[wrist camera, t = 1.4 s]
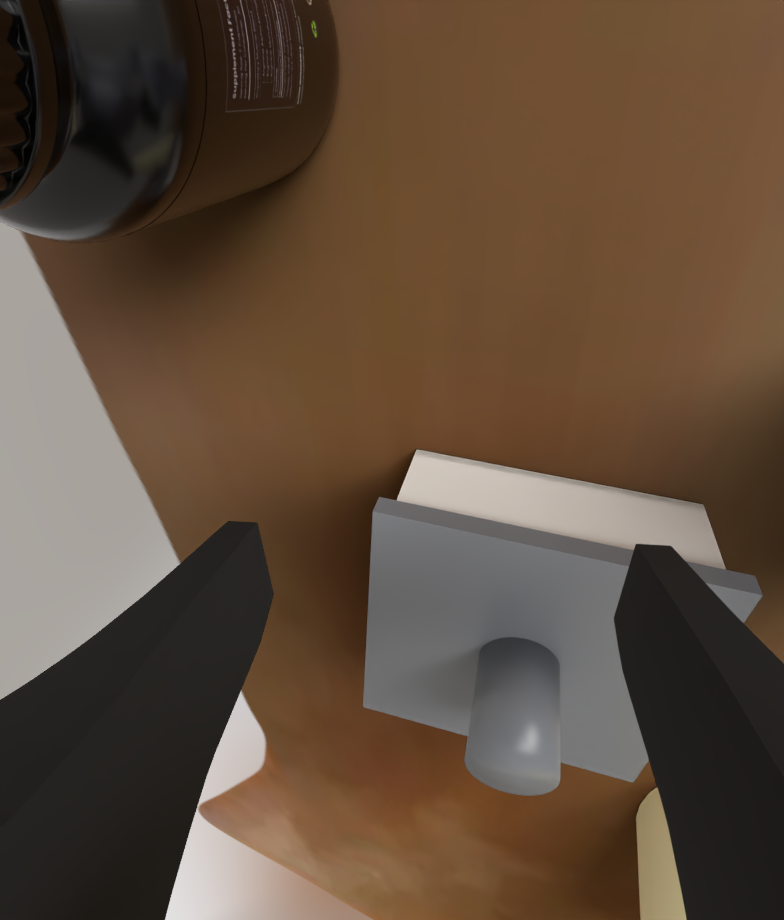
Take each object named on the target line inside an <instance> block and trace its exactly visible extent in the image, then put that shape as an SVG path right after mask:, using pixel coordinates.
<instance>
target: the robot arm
mask: <svg viewBox="0 0 784 920" xmlns="http://www.w3.org/2000/svg"><path fill="white" fill-rule="evenodd" d="M273 595H274V593H273V589H272V585H271V580H270V576H269V571H268V567H267V563H266V558H265V554H264V549H263V545H262V541H261V536H260V532H259V527H258V523H253V522H235V521H228V522H227V523H226V524H224V525H223V526H222V527H221V528H220V529H219V530H217V531H216V532H215V533H214V534H213V535H212V536H211V537H210V538H209V539H207V540H206V541H205V542H204V543H203V544H202V545H201V546H200V547H199V548H197V549H196V550H195V551H194V552H193V553H192V554H191V555H190V556H189V557H187V558H186V559H185V560H184V561H183V562H182V563H181V564H180V565H178V566H177V567H176V568H175V569H174V570H173V571H172V572H171V573H169V574H168V575H167V576H166V577H165V578H164V579H163V580H161V581H160V582H159V583H158V584H157V585H156V586H154V587H153V588H152V589H151V590H150V591H149V592H148V593H146V594H145V595H144V596H143V597H142V598H140V599H139V600H138V601H137V602H135V603H134V604H133V605H132V606H130V607H129V608H128V609H127V610H126V611H124V612H123V613H122V614H121V615H119V616H118V617H117V618H116V619H114V620H113V621H112V622H111V623H109V624H108V625H107V626H106V627H104V628H103V629H102V630H101V631H99V632H98V633H97V634H96V635H94V636H93V637H92V638H90V639H89V640H88V641H87V642H85V643H84V644H82V645H81V646H80V647H78V648H77V649H75V650H74V651H73V652H71V653H70V654H69V655H67V656H66V657H64V658H63V659H61V660H60V661H59V662H57V663H56V664H54V665H53V666H51V667H50V668H48V669H47V670H46V671H44V672H43V673H41V674H40V675H38V676H37V677H35V678H34V679H33V680H31V681H30V682H28V683H26V684H25V685H23V686H22V687H20V688H19V689H17V690H15V691H14V692H12V693H11V694H9V695H7V696H6V697H4V698H3V699H1V700H0V920H165V917H166V913H167V909H168V905H169V901H170V897H171V894H172V890H173V887H174V883H175V880H176V876H177V872H178V869H179V866H180V862H181V859H182V855H183V852H184V849H185V845H186V841H187V838H188V835H189V831H190V827H191V824H192V821H193V818H194V815H195V812H196V809H197V805H198V802H199V799H200V796H201V792H202V789H203V786H204V782H205V779H206V776H207V773H208V771H209V768H210V765H211V762H212V760H213V757H214V754H215V752H216V749H217V747H218V744H219V742H220V739H221V737H222V734H223V732H224V730H225V727H226V725H227V722H228V720H229V718H230V715H231V713H232V710H233V708H234V705H235V703H236V701H237V698H238V696H239V694H240V691H241V689H242V686H243V684H244V682H245V679H246V677H247V674H248V672H249V669H250V667H251V664H252V662H253V659H254V657H255V655H256V652H257V649H258V647H259V644H260V642H261V639H262V635H263V632H264V628H265V625H266V621H267V618H268V614H269V610H270V606H271V602H272V598H273ZM614 624H615V630H616V637H617V643H618V649H619V654H620V660H621V665H622V671H623V674H624V678H625V681H626V685H627V688H628V692H629V695H630V698H631V702H632V705H633V709H634V712H635V715H636V719H637V722H638V725H639V728H640V732H641V735H642V738H643V742H644V745H645V748H646V752H647V755H648V758H649V761H650V765H651V768H652V771H653V775H654V778H655V781H656V785H657V788H658V791H659V794H660V798H661V802H662V805H663V809H664V813H665V817H666V821H667V825H668V829H669V834H670V838H671V843H672V848H673V853H674V858H675V863H676V868H677V873H678V877H679V882H680V887H681V892H682V897H683V903H684V908H685V913H686V919H687V920H784V664H783V663H782V662H781V661H780V660H779V659H778V658H777V657H776V656H775V655H774V654H773V653H772V652H771V651H770V650H769V649H768V648H767V647H766V646H765V645H764V644H763V643H762V642H761V641H760V640H759V639H758V638H757V637H756V636H755V635H754V634H753V633H752V632H751V631H750V630H749V629H748V628H747V627H746V626H745V624H744V623H743V622H742V621H741V620H740V619H739V618H738V617H737V616H736V615H735V614H734V613H733V612H732V611H731V610H730V609H729V608H728V607H727V606H726V605H725V604H724V602H723V601H722V600H721V599H720V598H719V597H718V596H717V595H716V594H715V593H714V592H713V591H712V590H711V588H710V587H709V586H708V585H707V584H706V583H705V582H704V581H703V580H702V579H701V578H700V576H699V575H698V574H697V573H696V572H695V571H694V570H693V569H692V568H691V567H690V566H689V564H688V563H687V562H686V561H685V560H684V559H683V558H682V557H681V556H680V555H679V554H678V553H677V552H676V550H675V549H674V548H673V547H672V546H668V545H650V544H636V545H635V548H634V551H633V555H632V558H631V562H630V565H629V568H628V572H627V575H626V578H625V582H624V585H623V588H622V592H621V595H620V598H619V602H618V605H617V609H616V612H615V615H614Z"/></svg>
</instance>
